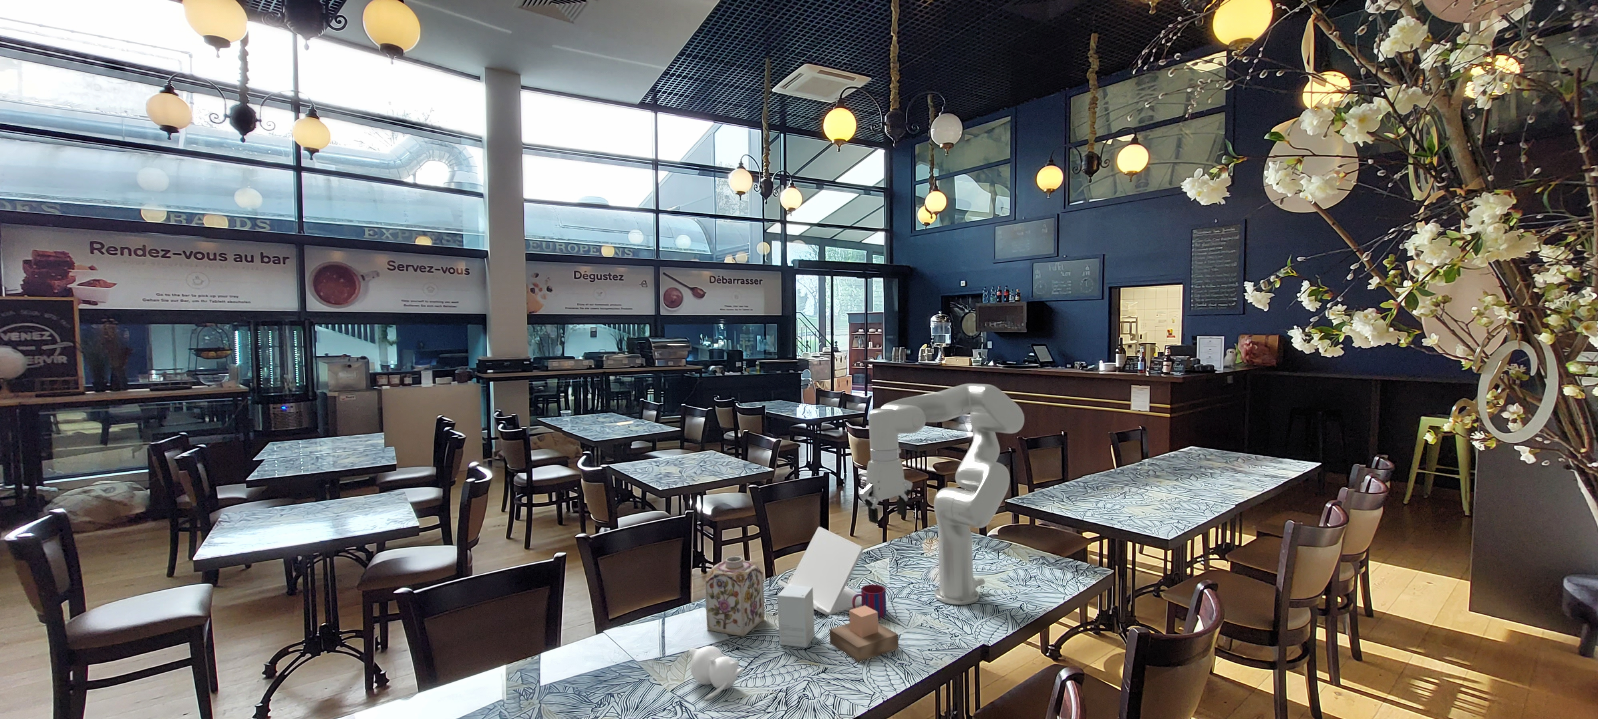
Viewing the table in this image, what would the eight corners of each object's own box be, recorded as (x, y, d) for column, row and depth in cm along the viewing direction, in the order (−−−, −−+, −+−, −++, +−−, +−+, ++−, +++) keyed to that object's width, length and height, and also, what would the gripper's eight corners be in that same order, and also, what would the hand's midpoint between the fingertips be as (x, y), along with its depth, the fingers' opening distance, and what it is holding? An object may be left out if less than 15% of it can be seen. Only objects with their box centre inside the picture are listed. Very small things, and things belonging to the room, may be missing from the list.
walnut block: (868, 632, 168) (868, 617, 168) (898, 650, 158) (898, 634, 158) (830, 644, 162) (829, 629, 162) (858, 664, 152) (858, 647, 152)
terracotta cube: (865, 624, 164) (865, 605, 163) (878, 631, 159) (877, 611, 159) (849, 630, 161) (849, 610, 161) (862, 637, 157) (861, 616, 157)
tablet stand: (827, 577, 208) (825, 524, 207) (872, 604, 186) (870, 545, 185) (776, 589, 199) (774, 534, 199) (817, 618, 177) (815, 556, 177)
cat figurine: (736, 648, 140) (698, 632, 148) (706, 692, 134) (668, 673, 141) (751, 672, 144) (713, 656, 152) (723, 716, 138) (685, 697, 145)
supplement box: (815, 635, 166) (814, 586, 166) (806, 648, 159) (804, 597, 159) (788, 632, 169) (786, 583, 169) (778, 644, 162) (776, 594, 162)
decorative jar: (765, 619, 177) (763, 554, 176) (744, 637, 166) (742, 568, 166) (728, 613, 182) (725, 549, 182) (705, 630, 171) (702, 562, 171)
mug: (890, 615, 177) (889, 591, 177) (857, 622, 173) (856, 597, 173) (879, 606, 183) (878, 582, 183) (847, 612, 180) (846, 588, 179)
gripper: (900, 448, 180) (903, 509, 181) (850, 458, 171) (853, 522, 172) (918, 452, 174) (922, 515, 175) (867, 462, 165) (871, 528, 166)
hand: (888, 518), depth 173 cm, fingers open, 9 cm apart
